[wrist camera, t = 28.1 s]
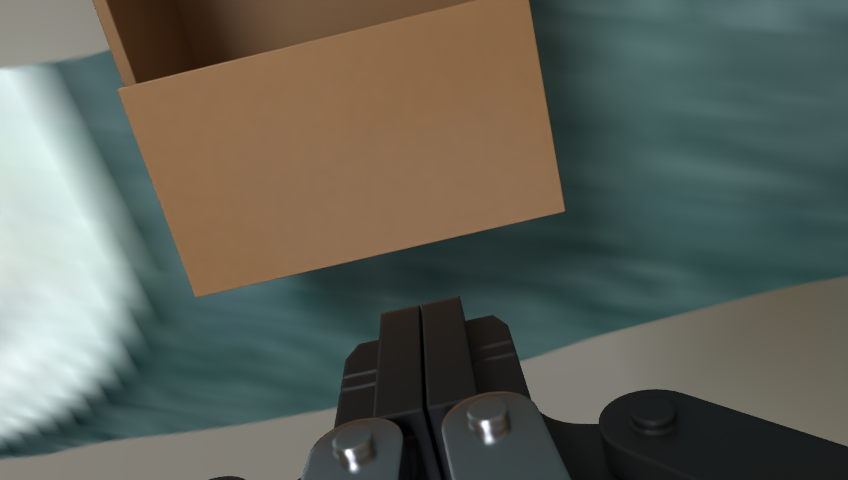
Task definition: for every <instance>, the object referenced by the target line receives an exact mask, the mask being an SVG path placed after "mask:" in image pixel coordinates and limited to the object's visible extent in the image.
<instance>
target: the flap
mask: <svg viewBox="0 0 848 480" xmlns="http://www.w3.org/2000/svg"><path fill="white" fill-rule="evenodd" d="M118 93H119V95H120V98H121V101H122V103H123V106H124V109H125V111H126V114H127V116H128V119H129V122H130V124H131V127H132V130H133V132H134V135H135V138H136V140H137V143H138V146H139V148H140V151H141V154H142V156H143V159H144V162H145V164H146V167H147V170H148V172H149V175H150V178H151V180H152V183H153V185H154V188H155V191H156V193H157V196H158V199H159V201H160V204H161V207H162V209H163V212H164V215H165V217H166V220H167V223H168V225H169V228H170V231H171V233H172V236H173V239H174V241H175V244H176V246H177V249H178V252H179V254H180V257H181V260H182V262H183V265H184V268H185V270H186V273H187V276H188V278H189V281H190V284H191V286H192V289H193V292H194V294H195V297H200V296H205V295H209V294H213V293H218V292H222V291H226V290H231V289H235V288H239V287H243V286H248V285H252V284H256V283H261V282H265V281H269V280H273V279H278V278H282V277H286V276H291V275H295V274H299V273H304V272H308V271H312V270H316V269H321V268H325V267H329V266H334V265H338V264H342V263H346V262H351V261H355V260H359V259H364V258H368V257H372V256H377V255H381V254H385V253H389V252H394V251H398V250H402V249H407V248H411V247H415V246H420V245H424V244H428V243H432V242H437V241H441V240H445V239H450V238H454V237H458V236H462V235H467V234H471V233H475V232H480V231H484V230H488V229H493V228H497V227H501V226H505V225H510V224H514V223H518V222H523V221H527V220H531V219H535V218H540V217H544V216H548V215H553V214H557V213H561V212H565V205H564V200H563V194H562V188H561V182H560V177H559V171H558V165H557V159H556V153H555V148H554V142H553V136H552V130H551V124H550V119H549V113H548V107H547V101H546V96H545V90H544V84H543V78H542V72H541V67H540V61H539V55H538V49H537V43H536V38H535V32H534V26H533V20H532V15H531V9H530V3H529V0H473V1H469V2H465V3H461V4H457V5H453V6H449V7H445V8H441V9H437V10H433V11H429V12H425V13H421V14H417V15H413V16H409V17H405V18H401V19H397V20H392V21H388V22H384V23H380V24H376V25H372V26H368V27H364V28H360V29H356V30H352V31H348V32H344V33H340V34H336V35H332V36H328V37H324V38H320V39H316V40H312V41H308V42H303V43H299V44H295V45H291V46H287V47H283V48H279V49H275V50H271V51H267V52H263V53H259V54H255V55H251V56H247V57H243V58H239V59H235V60H231V61H227V62H223V63H218V64H214V65H210V66H206V67H202V68H198V69H194V70H190V71H186V72H182V73H178V74H174V75H170V76H166V77H162V78H158V79H154V80H150V81H146V82H142V83H138V84H134V85H129V86H125V87H121V88H118Z"/></svg>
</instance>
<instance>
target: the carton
mask: <svg viewBox="0 0 848 480" xmlns="http://www.w3.org/2000/svg"><path fill="white" fill-rule="evenodd" d="M92 1H93V3H94V6H95V9H96V11H97V14H98V17H99V19H100V22H101V25H102V28H103V30H104V33H105V36H106V38H107V41H108V44H109V47H110V49H111V52H112V55H113V57H114V60H115V63H116V65H117V68H118V71H119V73H120V76H121V79H122V81H123V84H124V87H125V86H129V85H134V84H138V83H142V82H146V81H150V80H154V79H158V78H162V77H166V76H170V75H174V74H178V73H182V72H186V71H190V70H194V69H198V68H202V67H206V66H210V65H214V64H218V63H223V62H227V61H231V60H235V59H239V58H243V57H247V56H251V55H255V54H259V53H263V52H267V51H271V50H275V49H279V48H283V47H287V46H291V45H295V44H299V43H303V42H308V41H312V40H316V39H320V38H324V37H328V36H332V35H336V34H340V33H344V32H348V31H352V30H356V29H360V28H364V27H368V26H372V25H376V24H380V23H384V22H388V21H392V20H397V19H401V18H405V17H409V16H413V15H417V14H421V13H425V12H429V11H433V10H437V9H441V8H445V7H449V6H453V5H457V4H461V3H465V2H469V1H473V0H92Z"/></svg>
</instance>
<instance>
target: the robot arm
mask: <svg viewBox="0 0 848 480" xmlns="http://www.w3.org/2000/svg"><path fill="white" fill-rule="evenodd" d="M209 480H245V479H243V478H239V477H234V476H224V477H218V478H213V479H209ZM298 480H848V447H847V446H844V445H841V444H838V443H835V442H832V441H828V440H826V439H822V438H819V437H816V436H813V435H810V434H807V433H804V432H800V431H798V430H795V429H792V428H788V427H785V426H782V425H779V424H776V423H773V422H770V421H766V420H763V419H761V418H758V417H754V416H751V415H748V414H745V413H742V412H739V411H736V410H732V409H730V408H727V407H723V406H720V405H717V404H714V403H711V402H708V401H705V400H702V399H699V398H696V397H692V396H689V395H686V394H683V393H679V392H676V391H669V390H658V389H654V390H642V391H637V392H632V393H629V394H626V395H623V396H621V397H619V398H617V399H615V400H614V401H612V402H611V403H609V404H608V405H607V406H606V407H605V408H604V410H603V411H602V413H601V415H600V418H599V424H573V423H566V422H561V421H558V420H554V419H551V418H549V417H547V416H546V415H544V414H542V413H541V412H540V411H539V410H538V408H537V406H536V405H535V403H534V402H533V401H532V400H531V398H530V394H529V391H528V388H527V385H526V382H525V378H524V375H523V372H522V369H521V366H520V362H519V359H518V356H517V353H516V350H515V347H514V343H513V340H512V337H511V334H510V331H509V327H508V325H507V324H505V323H504V322H502V321H501V320H499V319H498V318H496V317H495V316H493V315H491V316H486V317H482V318H477V319H472V320H468V321H465V317H464V312H463V308H462V304H461V300H460V296H458V297H453V298H449V299H444V300H440V301H435V302H430V303H426V304H422V311H421V308H420V306H419V305H417V306H413V307H408V308H403V309H399V310H394V311H390V312H385V313H382V314H381V323H380V335H379V340H376V341H371V342H367V343H362V344H359V345H358V346H357V347H356V348H355V350H354V351H353V352H352V353H351V354H350V356H349V357H348V358H347V359H346V361H345V367H344V373H343V379H342V385H341V393H340V396H339V402H338V408H337V414H336V420H335V426H334V429H333V430H331V431H330V432H328V433H327V434H325V435H324V436H323V437H322V438H320V439H319V440H318V441H317V442H316V444H315V445H314V447H313V448H312V449H311V451H310V453H309V456H308V459H307V462H306V465H305V468H304V471H303V474H302V477H301V478H300V479H298Z"/></svg>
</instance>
